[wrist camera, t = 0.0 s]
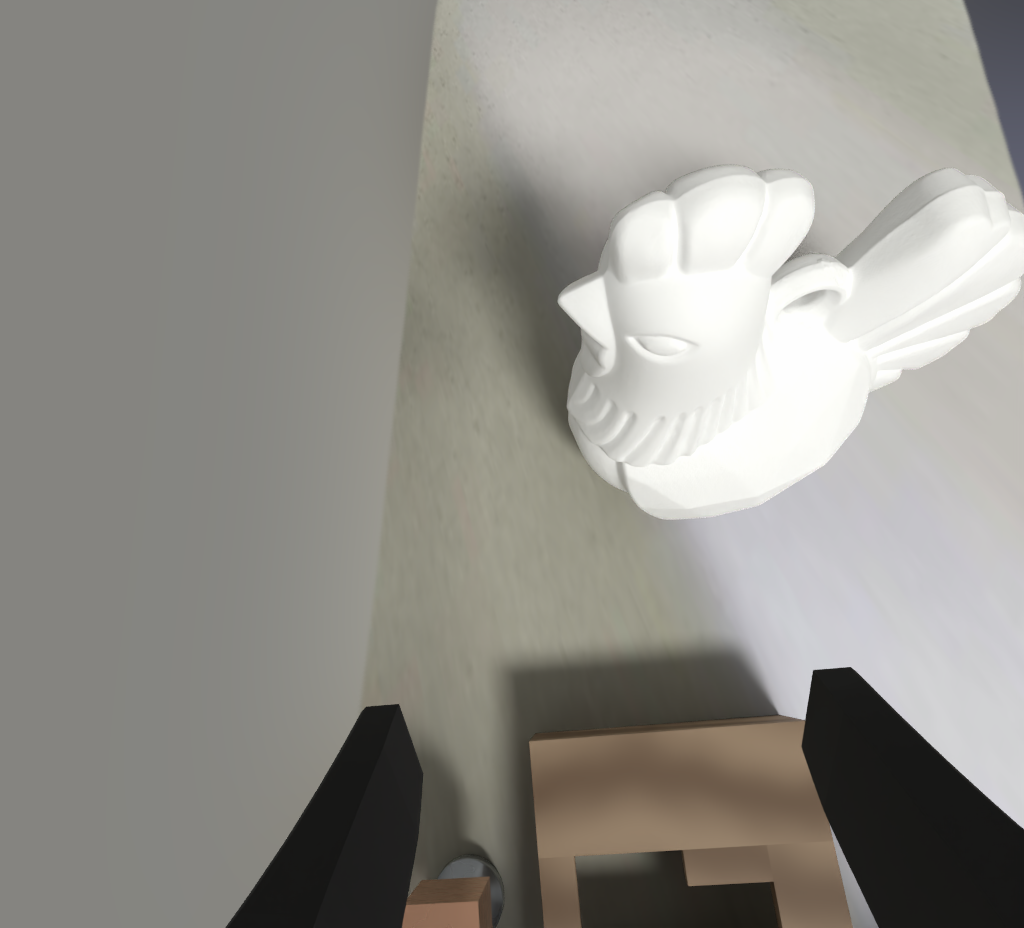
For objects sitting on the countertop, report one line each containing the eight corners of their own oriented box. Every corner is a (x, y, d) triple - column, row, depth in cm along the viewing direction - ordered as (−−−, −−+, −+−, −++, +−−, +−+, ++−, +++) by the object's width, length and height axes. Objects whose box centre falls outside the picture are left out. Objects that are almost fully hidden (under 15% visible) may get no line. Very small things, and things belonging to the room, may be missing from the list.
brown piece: (507, 935, 37) (487, 1002, 29) (436, 938, 37) (399, 1005, 30) (501, 852, 38) (481, 896, 31) (434, 856, 39) (398, 901, 31)
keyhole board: (854, 1067, 33) (898, 1133, 28) (564, 1076, 34) (561, 1140, 30) (779, 714, 39) (806, 720, 34) (535, 733, 40) (529, 741, 36)
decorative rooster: (567, 531, 45) (549, 376, 21) (568, 344, 50) (554, 55, 26) (929, 534, 42) (1365, 358, 18) (890, 335, 47) (1192, 0, 23)
